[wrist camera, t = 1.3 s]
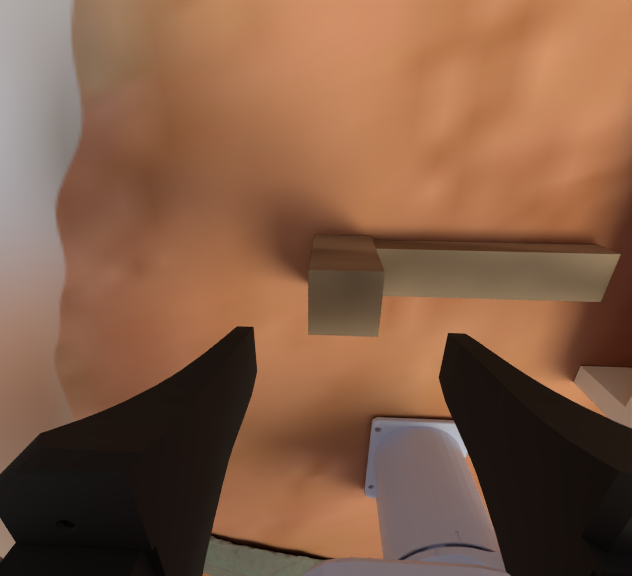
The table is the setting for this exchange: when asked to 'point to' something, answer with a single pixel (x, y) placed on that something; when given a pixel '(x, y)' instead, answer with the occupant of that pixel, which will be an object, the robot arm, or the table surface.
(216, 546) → the stone slab
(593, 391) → the plinth shelf
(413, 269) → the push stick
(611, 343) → the table surface
